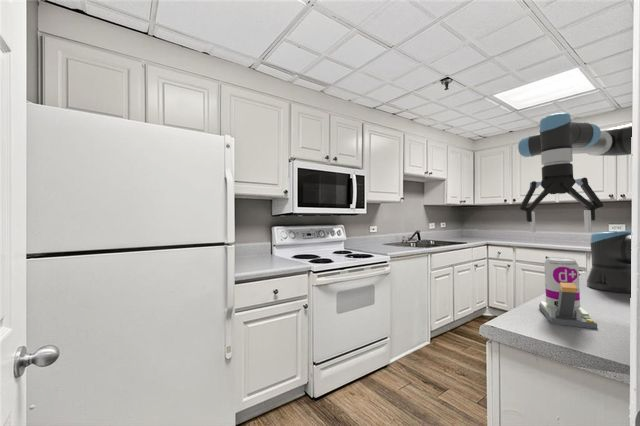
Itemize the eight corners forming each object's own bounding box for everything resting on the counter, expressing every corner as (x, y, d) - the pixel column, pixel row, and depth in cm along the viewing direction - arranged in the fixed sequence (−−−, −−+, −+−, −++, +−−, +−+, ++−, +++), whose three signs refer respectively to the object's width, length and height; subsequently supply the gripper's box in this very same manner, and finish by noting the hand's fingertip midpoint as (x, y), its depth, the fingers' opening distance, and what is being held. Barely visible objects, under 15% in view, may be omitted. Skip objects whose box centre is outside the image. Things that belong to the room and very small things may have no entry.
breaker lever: (572, 314, 83) (577, 283, 78) (575, 319, 81) (580, 288, 77) (553, 312, 84) (557, 282, 80) (555, 317, 83) (559, 287, 79)
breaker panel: (577, 312, 90) (577, 299, 90) (597, 328, 78) (596, 314, 78) (539, 308, 95) (538, 296, 95) (551, 323, 82) (551, 310, 82)
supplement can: (584, 312, 83) (582, 262, 83) (548, 309, 87) (546, 260, 87) (576, 304, 90) (574, 257, 90) (543, 301, 94) (541, 256, 94)
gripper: (604, 161, 87) (607, 230, 86) (507, 170, 97) (510, 231, 97) (616, 157, 80) (619, 232, 80) (511, 167, 91) (514, 233, 91)
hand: (559, 231), depth 89 cm, fingers open, 13 cm apart
